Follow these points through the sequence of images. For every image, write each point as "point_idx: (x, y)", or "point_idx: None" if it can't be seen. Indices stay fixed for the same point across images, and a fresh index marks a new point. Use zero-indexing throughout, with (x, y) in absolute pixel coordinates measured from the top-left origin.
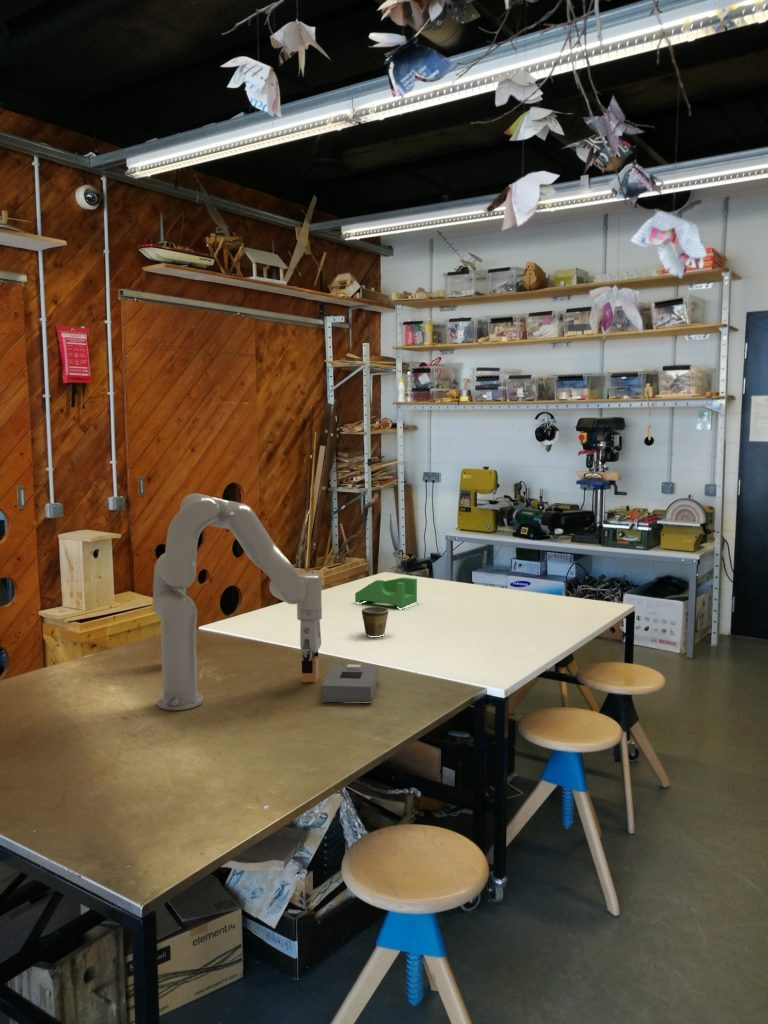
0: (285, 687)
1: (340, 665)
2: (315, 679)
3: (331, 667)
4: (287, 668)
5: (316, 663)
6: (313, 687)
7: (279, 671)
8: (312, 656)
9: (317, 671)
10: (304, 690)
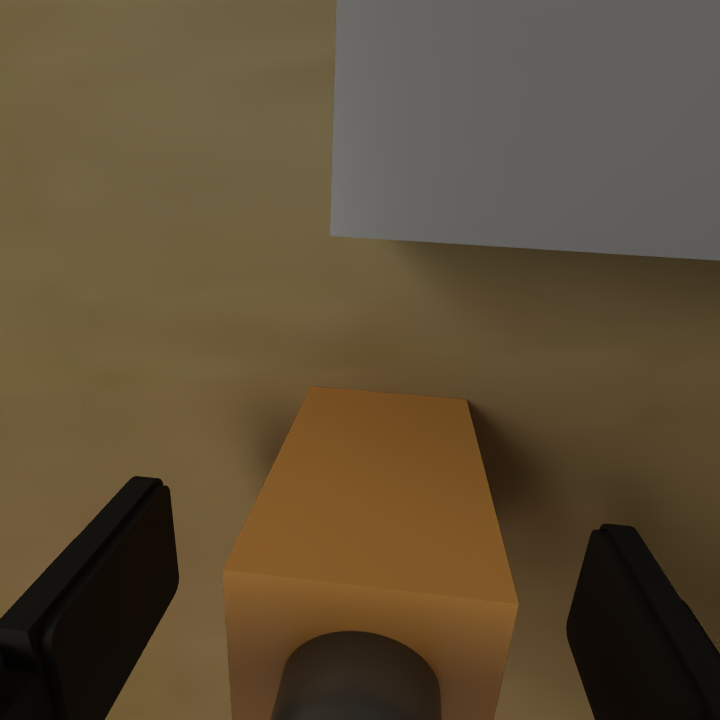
0: None
1: (414, 45)
2: (469, 422)
3: (553, 244)
4: None
5: (429, 536)
6: (620, 412)
7: (161, 692)
8: (417, 714)
9: (354, 438)
10: (707, 490)
